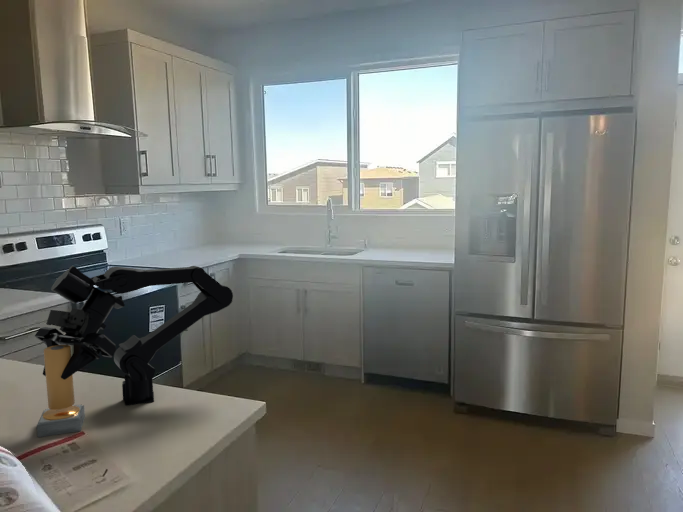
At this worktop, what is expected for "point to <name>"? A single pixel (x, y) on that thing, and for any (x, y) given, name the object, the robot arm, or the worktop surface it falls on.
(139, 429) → the worktop surface
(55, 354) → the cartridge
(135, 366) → the robot arm
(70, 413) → the unit
